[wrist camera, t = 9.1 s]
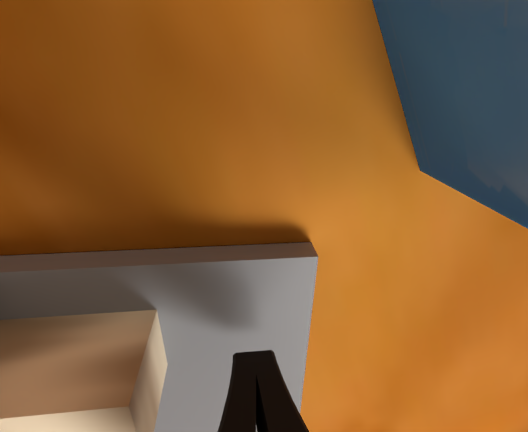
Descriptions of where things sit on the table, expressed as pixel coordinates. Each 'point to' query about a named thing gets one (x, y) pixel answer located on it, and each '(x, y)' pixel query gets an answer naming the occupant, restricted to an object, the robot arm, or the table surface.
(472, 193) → the perfume bottle
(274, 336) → the board
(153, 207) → the table surface
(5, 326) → the slat
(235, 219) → the table surface
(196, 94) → the table surface
